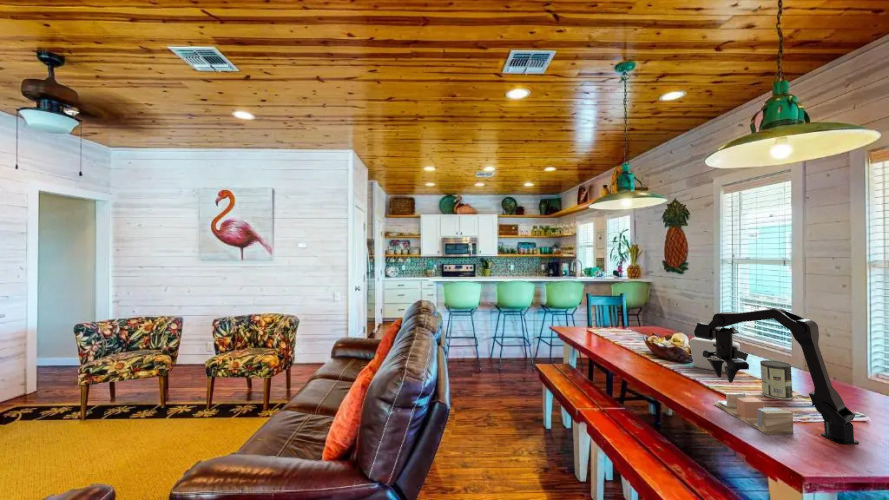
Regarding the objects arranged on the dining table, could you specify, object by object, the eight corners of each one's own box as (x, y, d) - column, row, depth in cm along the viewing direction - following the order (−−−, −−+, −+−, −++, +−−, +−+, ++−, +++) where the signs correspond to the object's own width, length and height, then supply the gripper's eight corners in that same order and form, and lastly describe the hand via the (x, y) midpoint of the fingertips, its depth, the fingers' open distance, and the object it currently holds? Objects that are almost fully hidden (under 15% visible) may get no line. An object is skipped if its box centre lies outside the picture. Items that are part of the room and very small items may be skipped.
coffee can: (782, 391, 166) (780, 360, 166) (799, 400, 156) (797, 367, 156) (756, 390, 168) (754, 359, 168) (771, 399, 158) (769, 366, 158)
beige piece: (793, 434, 128) (792, 412, 128) (767, 434, 129) (766, 413, 129) (736, 404, 154) (735, 386, 154) (714, 404, 155) (713, 386, 155)
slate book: (785, 428, 130) (784, 411, 131) (765, 429, 131) (764, 412, 131) (777, 424, 133) (777, 408, 134) (758, 425, 134) (757, 408, 134)
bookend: (745, 407, 148) (745, 393, 148) (728, 407, 148) (727, 394, 148) (734, 401, 154) (734, 388, 154) (717, 402, 154) (717, 388, 154)
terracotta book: (763, 417, 139) (763, 401, 140) (745, 418, 140) (744, 402, 140) (755, 413, 143) (754, 397, 144) (737, 413, 144) (736, 397, 144)
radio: (742, 371, 195) (740, 323, 195) (739, 375, 189) (737, 326, 189) (693, 363, 211) (691, 319, 211) (689, 366, 205) (687, 321, 205)
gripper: (762, 348, 144) (763, 387, 144) (726, 336, 163) (727, 372, 163) (733, 348, 145) (734, 388, 145) (701, 337, 163) (702, 372, 163)
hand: (724, 379), depth 154 cm, fingers open, 6 cm apart
